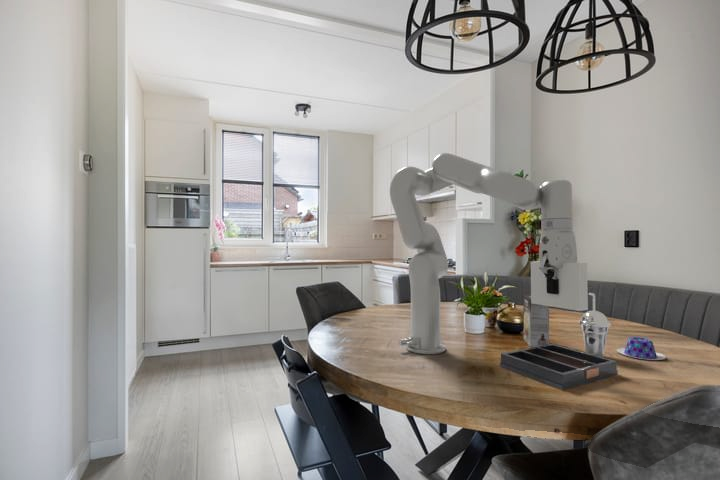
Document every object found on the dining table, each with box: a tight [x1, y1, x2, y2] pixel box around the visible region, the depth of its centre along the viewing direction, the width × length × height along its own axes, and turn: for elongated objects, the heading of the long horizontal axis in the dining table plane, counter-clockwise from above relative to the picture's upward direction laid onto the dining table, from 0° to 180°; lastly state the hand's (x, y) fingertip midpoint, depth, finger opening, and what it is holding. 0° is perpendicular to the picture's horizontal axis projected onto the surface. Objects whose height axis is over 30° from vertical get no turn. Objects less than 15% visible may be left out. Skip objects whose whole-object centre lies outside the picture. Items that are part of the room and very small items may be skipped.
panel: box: [530, 260, 589, 312], centre depth 99 cm, size 4×14×12 cm, turn 27°
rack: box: [499, 343, 619, 391], centre depth 98 cm, size 23×19×4 cm
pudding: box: [616, 336, 667, 361], centre depth 112 cm, size 12×12×5 cm
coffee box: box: [523, 295, 550, 348], centre depth 124 cm, size 9×6×16 cm
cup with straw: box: [578, 291, 612, 358], centre depth 111 cm, size 8×9×20 cm
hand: (557, 292), depth 98 cm, fingers closed on panel, 3 cm apart
